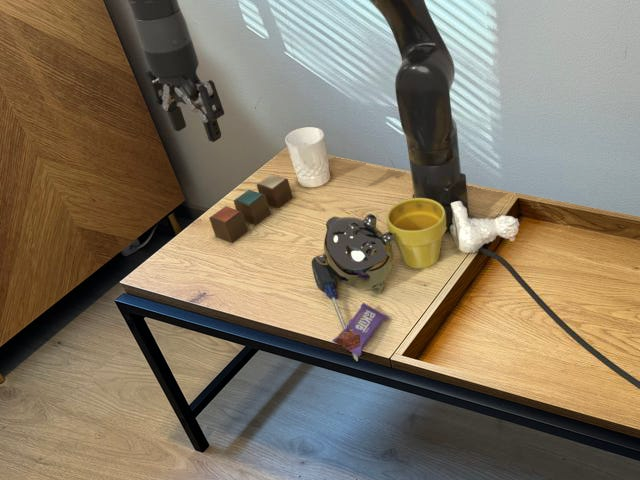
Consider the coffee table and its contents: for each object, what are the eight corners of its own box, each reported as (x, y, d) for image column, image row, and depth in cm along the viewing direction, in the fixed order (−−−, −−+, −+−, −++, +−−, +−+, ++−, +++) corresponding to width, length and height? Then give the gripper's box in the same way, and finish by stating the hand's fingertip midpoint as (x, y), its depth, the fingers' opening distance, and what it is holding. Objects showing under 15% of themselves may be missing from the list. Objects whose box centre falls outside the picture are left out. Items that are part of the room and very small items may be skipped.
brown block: (293, 197, 165) (287, 178, 161) (278, 209, 162) (272, 189, 159) (276, 192, 166) (271, 172, 163) (261, 203, 164) (256, 183, 161)
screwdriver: (364, 365, 129) (378, 348, 128) (347, 358, 127) (362, 342, 126) (318, 273, 146) (330, 257, 145) (302, 265, 144) (315, 250, 143)
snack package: (364, 298, 135) (390, 313, 135) (361, 306, 136) (386, 321, 136) (333, 336, 126) (361, 352, 126) (330, 345, 127) (357, 360, 127)
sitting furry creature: (449, 229, 152) (509, 218, 154) (459, 267, 149) (521, 255, 151) (450, 199, 144) (514, 188, 146) (461, 239, 140) (527, 227, 142)
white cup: (288, 184, 168) (277, 142, 161) (310, 166, 173) (300, 124, 166) (318, 192, 165) (308, 149, 158) (340, 173, 170) (331, 130, 163)
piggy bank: (320, 206, 132) (295, 253, 139) (383, 269, 130) (354, 313, 137) (361, 190, 140) (336, 235, 148) (421, 249, 139) (392, 291, 146)
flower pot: (420, 283, 142) (415, 238, 135) (381, 260, 147) (374, 216, 140) (460, 255, 147) (457, 210, 140) (421, 234, 152) (416, 190, 146)
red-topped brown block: (248, 231, 157) (242, 211, 154) (232, 243, 154) (225, 223, 151) (232, 225, 159) (225, 205, 156) (215, 237, 156) (208, 217, 153)
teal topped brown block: (271, 213, 161) (265, 194, 157) (255, 225, 158) (249, 205, 155) (254, 208, 163) (248, 188, 159) (239, 219, 160) (232, 199, 157)
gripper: (215, 39, 124) (243, 133, 136) (153, 24, 130) (185, 115, 142) (179, 58, 120) (211, 154, 131) (117, 42, 126) (152, 135, 137)
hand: (197, 134), depth 136 cm, fingers open, 8 cm apart
